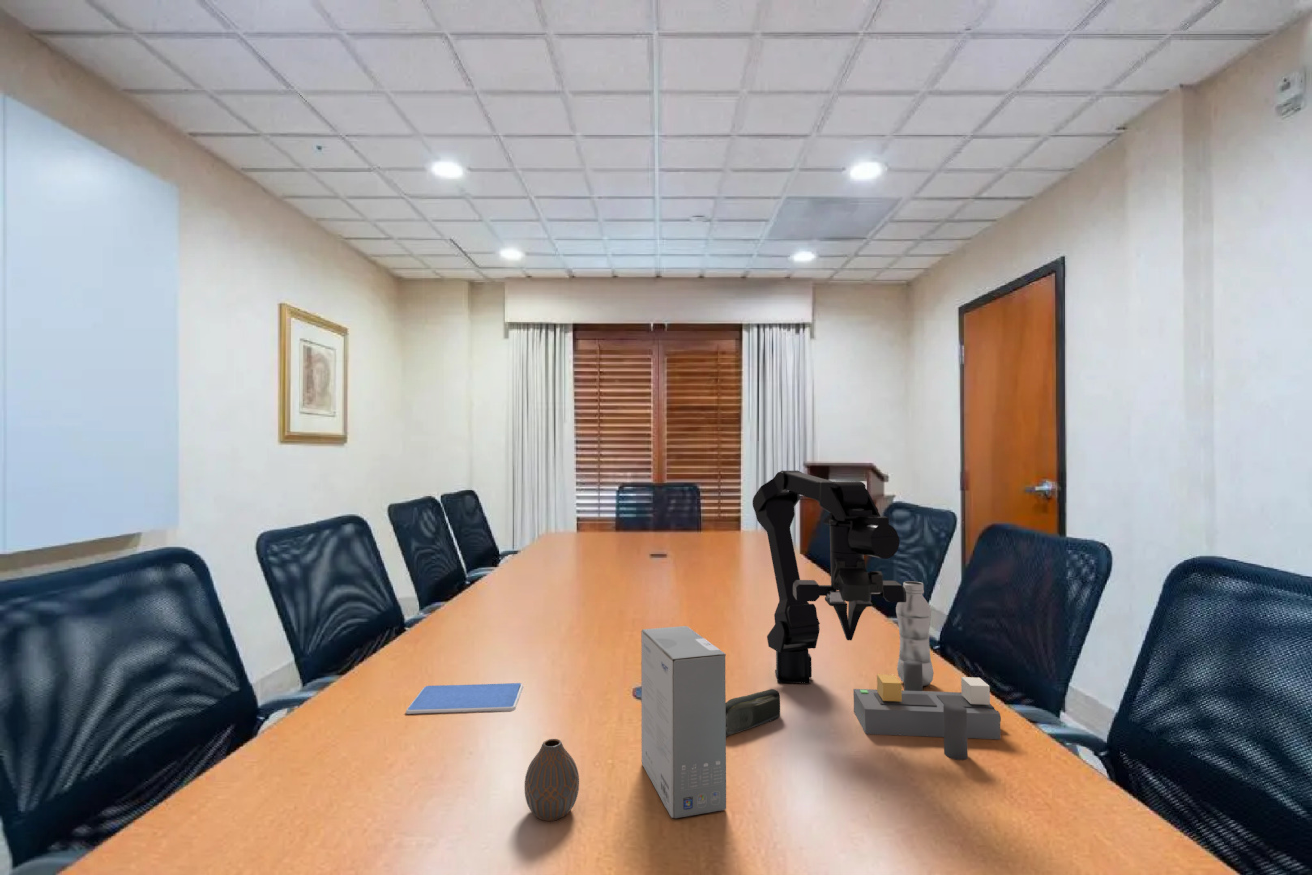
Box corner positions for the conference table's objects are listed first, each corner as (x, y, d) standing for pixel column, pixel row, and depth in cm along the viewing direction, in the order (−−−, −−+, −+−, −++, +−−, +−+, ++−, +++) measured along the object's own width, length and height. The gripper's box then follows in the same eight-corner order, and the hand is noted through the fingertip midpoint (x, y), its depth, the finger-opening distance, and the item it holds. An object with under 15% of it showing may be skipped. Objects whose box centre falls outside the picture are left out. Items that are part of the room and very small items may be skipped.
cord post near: (948, 759, 93) (947, 711, 93) (941, 749, 96) (940, 703, 96) (971, 760, 93) (970, 712, 93) (962, 750, 96) (961, 704, 96)
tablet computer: (523, 688, 124) (523, 681, 124) (515, 713, 112) (515, 706, 112) (424, 691, 122) (424, 684, 123) (404, 718, 110) (404, 710, 110)
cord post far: (907, 704, 114) (906, 665, 114) (902, 697, 117) (901, 659, 117) (925, 704, 114) (924, 666, 114) (919, 698, 117) (919, 660, 117)
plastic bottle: (937, 691, 120) (935, 586, 121) (900, 688, 121) (898, 585, 122) (929, 679, 126) (927, 580, 127) (894, 677, 128) (892, 579, 128)
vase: (527, 798, 83) (528, 731, 83) (580, 796, 83) (580, 729, 84) (520, 829, 76) (521, 756, 76) (577, 826, 76) (578, 754, 77)
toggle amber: (883, 700, 104) (882, 682, 104) (877, 691, 108) (876, 674, 108) (901, 701, 104) (901, 683, 104) (895, 692, 108) (894, 674, 108)
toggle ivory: (970, 703, 102) (970, 685, 103) (961, 694, 106) (961, 676, 107) (989, 704, 102) (989, 686, 102) (979, 695, 106) (979, 677, 106)
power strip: (865, 733, 102) (865, 707, 102) (853, 711, 111) (853, 687, 111) (1011, 739, 99) (1010, 713, 99) (987, 716, 108) (986, 692, 108)
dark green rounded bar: (770, 685, 111) (710, 704, 102) (783, 689, 109) (723, 709, 99) (770, 713, 111) (709, 735, 101) (783, 718, 109) (723, 741, 99)
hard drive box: (728, 811, 79) (727, 654, 80) (671, 822, 77) (670, 659, 78) (688, 756, 94) (687, 623, 95) (639, 763, 92) (639, 627, 93)
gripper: (799, 557, 104) (801, 652, 103) (915, 558, 102) (918, 654, 101) (791, 548, 115) (793, 634, 114) (895, 549, 113) (898, 635, 113)
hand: (848, 639), depth 110 cm, fingers closed
